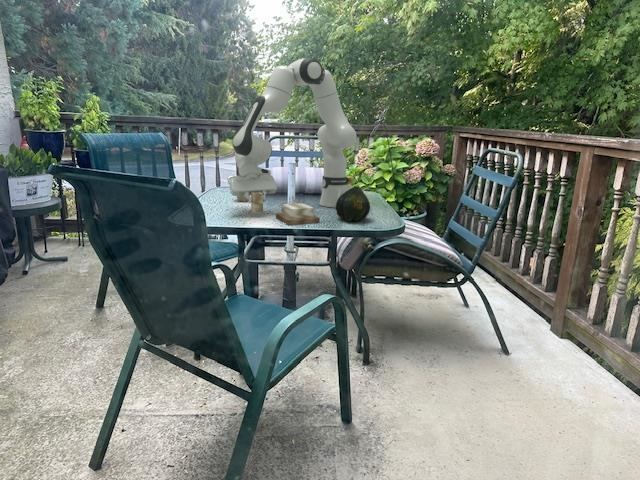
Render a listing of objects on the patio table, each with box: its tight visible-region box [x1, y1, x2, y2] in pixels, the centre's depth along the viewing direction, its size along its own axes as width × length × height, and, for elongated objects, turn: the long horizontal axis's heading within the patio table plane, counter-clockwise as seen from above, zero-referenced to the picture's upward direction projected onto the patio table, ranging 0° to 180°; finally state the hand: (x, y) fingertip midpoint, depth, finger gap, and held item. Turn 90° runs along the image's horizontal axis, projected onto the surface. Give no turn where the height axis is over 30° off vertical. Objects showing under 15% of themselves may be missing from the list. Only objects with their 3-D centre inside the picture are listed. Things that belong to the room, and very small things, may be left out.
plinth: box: [275, 202, 321, 226], centre depth 187 cm, size 14×14×6 cm
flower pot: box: [236, 195, 251, 203], centre depth 225 cm, size 9×9×9 cm
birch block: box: [250, 192, 264, 214], centre depth 191 cm, size 4×4×8 cm
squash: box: [334, 185, 371, 223], centre depth 191 cm, size 14×15×15 cm
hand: (257, 201), depth 190 cm, fingers closed on birch block, 4 cm apart
